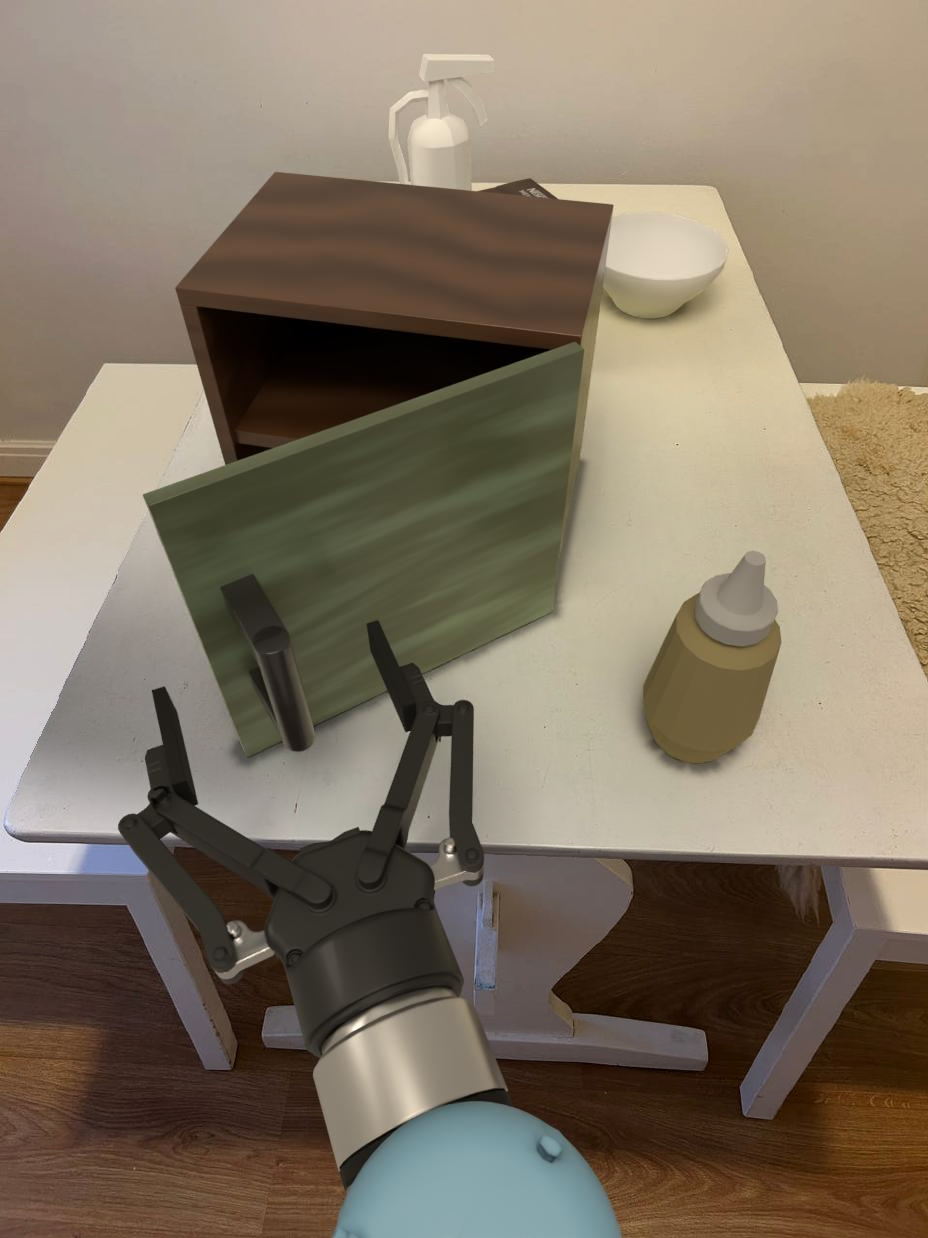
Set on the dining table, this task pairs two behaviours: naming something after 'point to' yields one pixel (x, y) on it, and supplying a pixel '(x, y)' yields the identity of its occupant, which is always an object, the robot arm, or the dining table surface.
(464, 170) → the fire extinguisher
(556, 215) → the cupboard
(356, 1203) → the robot arm
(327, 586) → the cupboard door
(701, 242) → the bowl
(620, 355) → the dining table surface
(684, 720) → the squeeze bottle
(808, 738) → the dining table surface
